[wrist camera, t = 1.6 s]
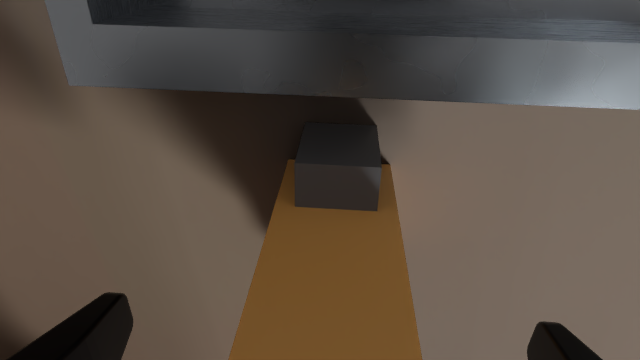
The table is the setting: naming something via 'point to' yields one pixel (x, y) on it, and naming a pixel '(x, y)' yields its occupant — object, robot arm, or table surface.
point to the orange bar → (331, 259)
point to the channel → (360, 48)
